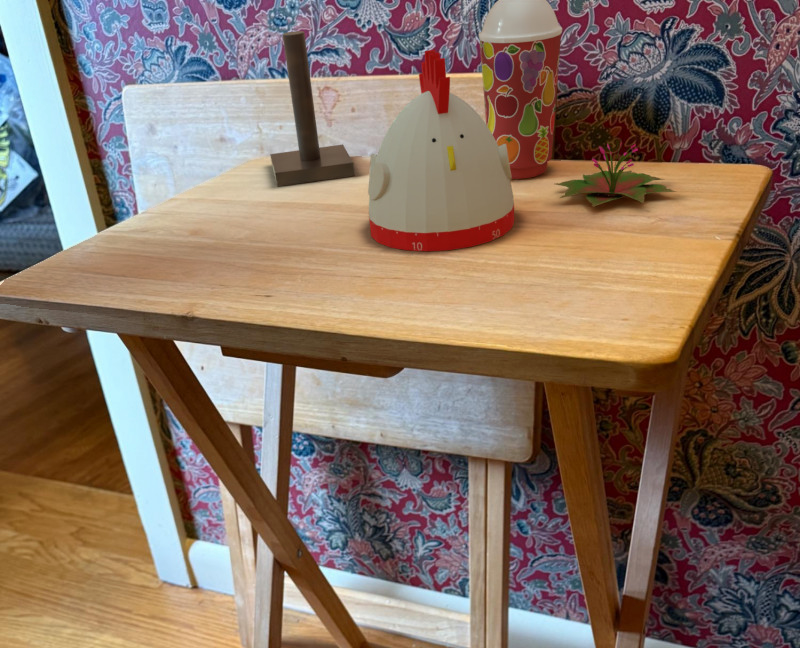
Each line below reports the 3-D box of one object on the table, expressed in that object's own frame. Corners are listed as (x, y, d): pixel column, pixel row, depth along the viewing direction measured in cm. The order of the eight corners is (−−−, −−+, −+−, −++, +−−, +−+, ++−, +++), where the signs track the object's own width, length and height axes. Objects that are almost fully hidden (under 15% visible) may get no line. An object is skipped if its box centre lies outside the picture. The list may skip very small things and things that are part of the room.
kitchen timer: (384, 260, 80) (367, 75, 71) (359, 215, 90) (341, 50, 82) (533, 236, 81) (534, 52, 72) (490, 195, 92) (487, 31, 83)
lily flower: (532, 189, 93) (532, 142, 90) (636, 170, 95) (639, 124, 92) (585, 221, 83) (587, 170, 81) (698, 199, 86) (704, 149, 83)
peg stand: (277, 186, 102) (254, 43, 93) (272, 166, 109) (250, 32, 100) (354, 176, 102) (339, 33, 94) (344, 157, 110) (329, 23, 101)
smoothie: (538, 157, 102) (540, -50, 90) (572, 174, 96) (579, -46, 84) (470, 169, 100) (463, -40, 88) (500, 188, 94) (497, -35, 82)
